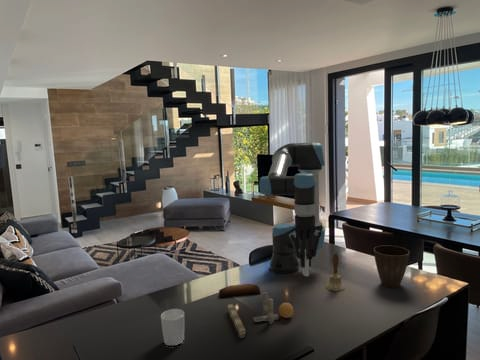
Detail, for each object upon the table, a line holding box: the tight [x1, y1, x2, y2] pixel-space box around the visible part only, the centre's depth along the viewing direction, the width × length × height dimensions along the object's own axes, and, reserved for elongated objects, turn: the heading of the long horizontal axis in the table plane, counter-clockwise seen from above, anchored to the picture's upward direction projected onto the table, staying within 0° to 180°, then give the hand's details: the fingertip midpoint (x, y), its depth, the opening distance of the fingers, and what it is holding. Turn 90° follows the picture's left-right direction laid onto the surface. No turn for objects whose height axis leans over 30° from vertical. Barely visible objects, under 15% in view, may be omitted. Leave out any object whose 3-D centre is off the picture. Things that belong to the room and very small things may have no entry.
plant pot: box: [373, 245, 411, 289], centre depth 163 cm, size 15×15×16 cm
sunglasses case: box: [218, 283, 261, 297], centre depth 162 cm, size 18×7×7 cm
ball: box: [278, 302, 294, 319], centre depth 138 cm, size 6×6×6 cm
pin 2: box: [267, 298, 275, 323], centre depth 134 cm, size 2×2×9 cm
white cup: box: [160, 308, 185, 346], centre depth 124 cm, size 8×8×10 cm
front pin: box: [253, 313, 279, 322], centre depth 136 cm, size 2×2×9 cm
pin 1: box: [262, 291, 269, 316], centre depth 139 cm, size 2×2×9 cm
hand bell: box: [325, 252, 346, 292], centre depth 162 cm, size 8×8×16 cm
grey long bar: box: [227, 304, 247, 335], centre depth 134 cm, size 20×2×3 cm, turn 14°
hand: (305, 274), depth 139 cm, fingers closed
